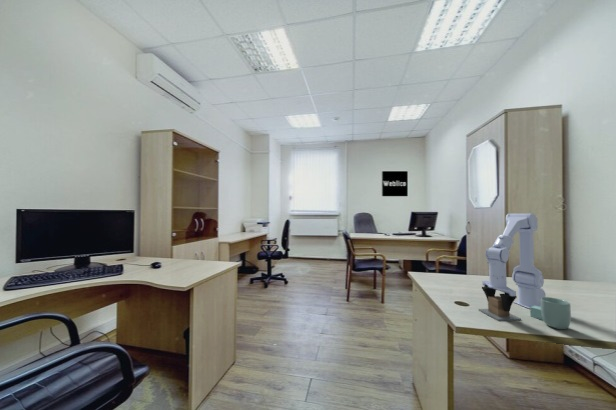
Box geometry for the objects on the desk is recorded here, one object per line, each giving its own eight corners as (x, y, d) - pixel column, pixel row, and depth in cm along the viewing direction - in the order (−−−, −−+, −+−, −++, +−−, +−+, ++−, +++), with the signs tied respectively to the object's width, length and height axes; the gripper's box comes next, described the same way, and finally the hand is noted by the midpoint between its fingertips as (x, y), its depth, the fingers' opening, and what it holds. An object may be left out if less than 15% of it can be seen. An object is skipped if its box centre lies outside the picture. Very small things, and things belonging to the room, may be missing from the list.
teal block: (535, 314, 100) (535, 305, 100) (547, 318, 96) (547, 308, 96) (530, 316, 98) (530, 306, 98) (542, 320, 95) (542, 310, 95)
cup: (536, 322, 93) (535, 297, 93) (553, 321, 93) (552, 296, 94) (558, 332, 85) (557, 304, 85) (577, 331, 86) (576, 304, 86)
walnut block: (499, 311, 102) (498, 296, 102) (509, 316, 97) (509, 300, 97) (488, 311, 102) (487, 296, 102) (498, 316, 97) (497, 300, 97)
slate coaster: (499, 309, 105) (499, 308, 105) (521, 320, 95) (521, 318, 95) (478, 310, 104) (478, 309, 104) (497, 320, 94) (497, 319, 94)
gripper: (475, 271, 107) (476, 301, 107) (503, 280, 93) (505, 314, 92) (490, 271, 107) (491, 300, 107) (520, 280, 93) (521, 314, 93)
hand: (498, 307), depth 100 cm, fingers open, 7 cm apart
